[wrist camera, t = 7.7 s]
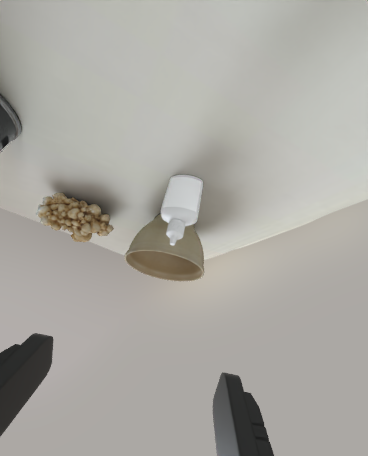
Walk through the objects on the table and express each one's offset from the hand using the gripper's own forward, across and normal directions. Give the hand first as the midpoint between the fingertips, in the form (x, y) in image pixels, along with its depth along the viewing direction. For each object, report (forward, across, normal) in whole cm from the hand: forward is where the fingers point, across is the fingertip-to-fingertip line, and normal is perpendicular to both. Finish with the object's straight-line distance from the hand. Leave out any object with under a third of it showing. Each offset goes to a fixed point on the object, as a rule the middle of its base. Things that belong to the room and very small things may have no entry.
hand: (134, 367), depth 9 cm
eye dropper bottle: (+26, 0, -9) cm, 27 cm away
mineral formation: (+36, +21, +1) cm, 42 cm away
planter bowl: (+36, +1, +1) cm, 36 cm away
